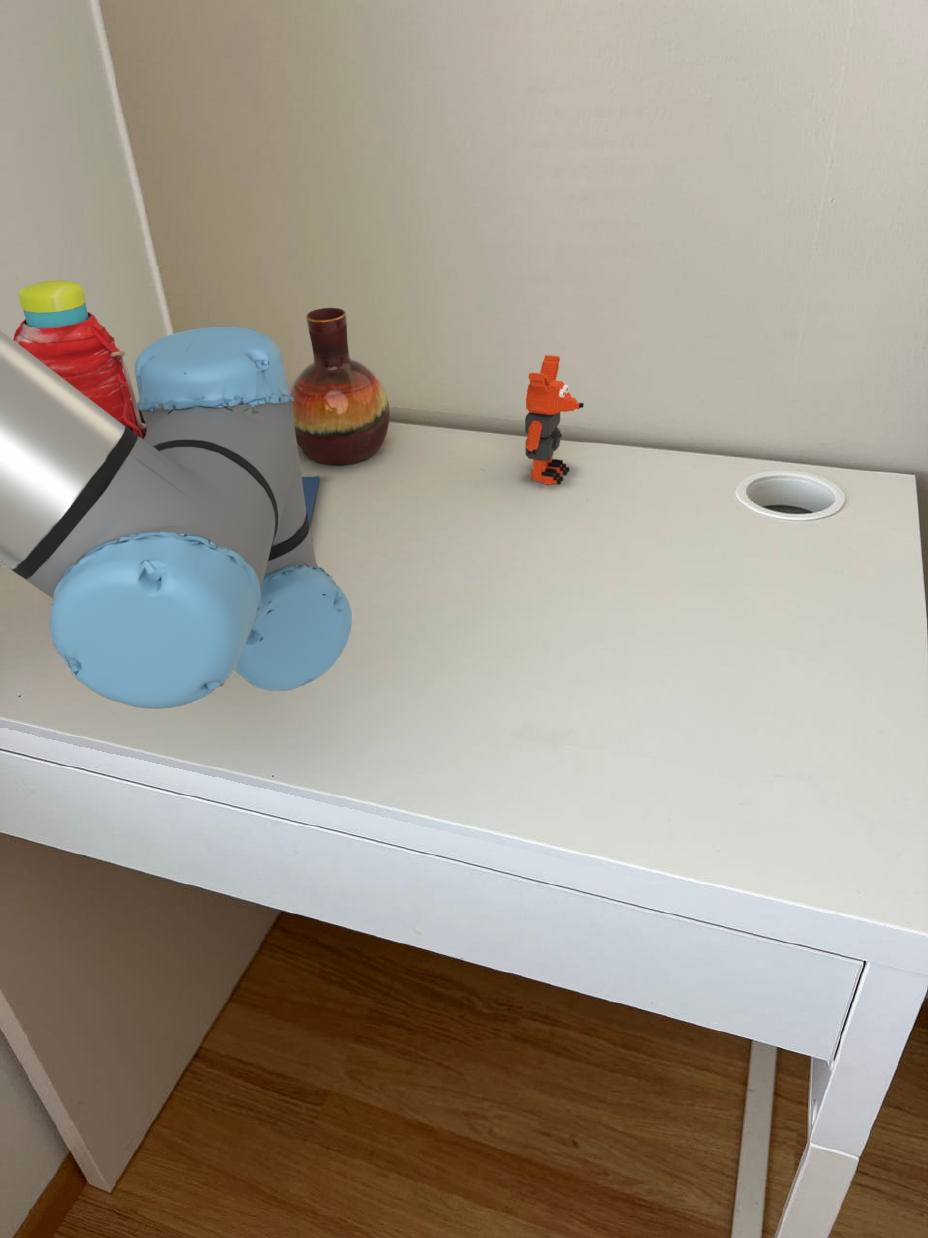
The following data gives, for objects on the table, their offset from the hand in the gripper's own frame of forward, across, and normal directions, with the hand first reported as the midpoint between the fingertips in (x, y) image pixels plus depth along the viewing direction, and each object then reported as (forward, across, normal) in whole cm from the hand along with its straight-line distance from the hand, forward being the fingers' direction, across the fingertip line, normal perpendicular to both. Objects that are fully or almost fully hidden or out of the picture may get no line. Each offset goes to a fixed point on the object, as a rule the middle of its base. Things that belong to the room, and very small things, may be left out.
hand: (75, 426), depth 81 cm
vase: (+12, +30, -16) cm, 36 cm away
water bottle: (-5, 0, -13) cm, 14 cm away
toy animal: (-9, +44, -16) cm, 47 cm away
